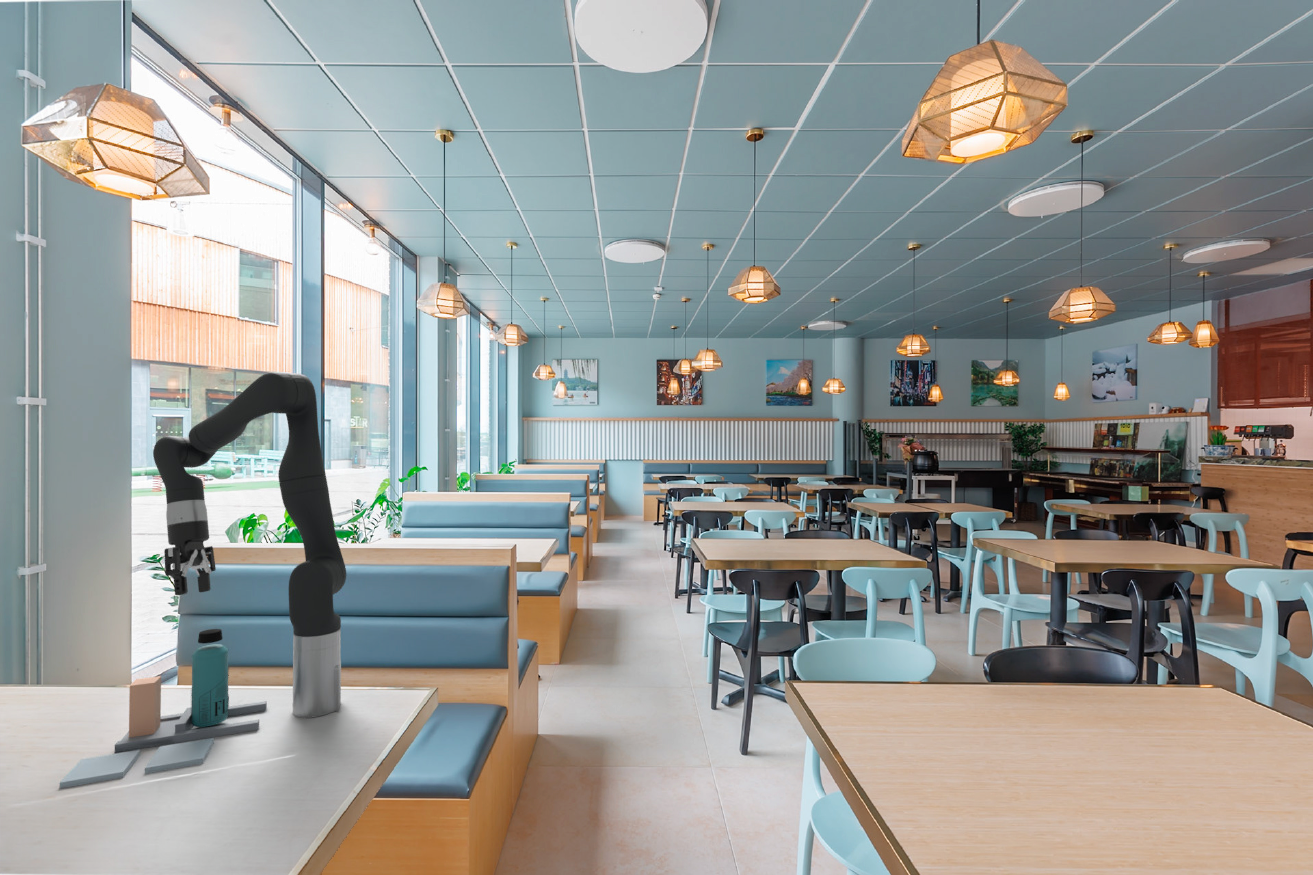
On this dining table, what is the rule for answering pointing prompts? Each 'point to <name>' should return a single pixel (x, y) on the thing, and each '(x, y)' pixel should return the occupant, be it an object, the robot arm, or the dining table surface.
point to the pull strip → (172, 720)
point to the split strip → (122, 762)
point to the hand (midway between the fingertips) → (193, 593)
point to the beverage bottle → (209, 681)
